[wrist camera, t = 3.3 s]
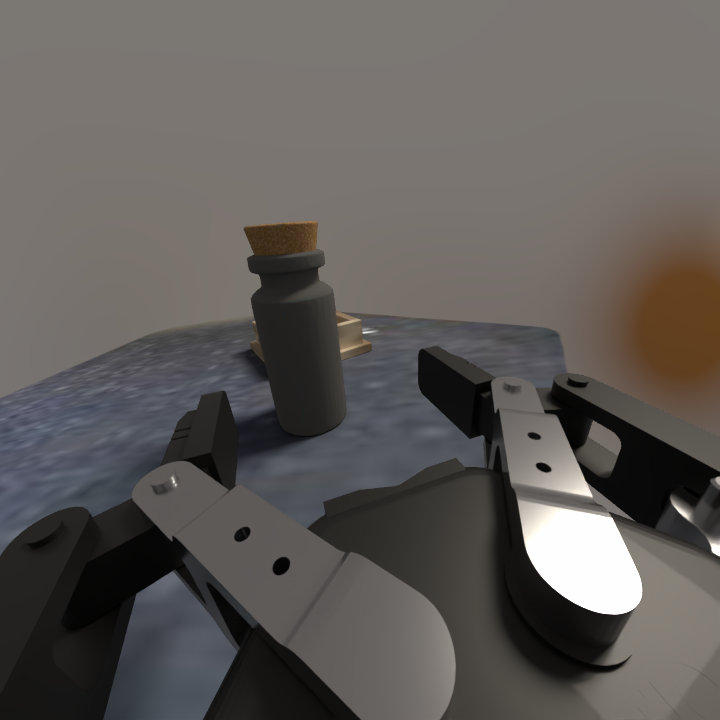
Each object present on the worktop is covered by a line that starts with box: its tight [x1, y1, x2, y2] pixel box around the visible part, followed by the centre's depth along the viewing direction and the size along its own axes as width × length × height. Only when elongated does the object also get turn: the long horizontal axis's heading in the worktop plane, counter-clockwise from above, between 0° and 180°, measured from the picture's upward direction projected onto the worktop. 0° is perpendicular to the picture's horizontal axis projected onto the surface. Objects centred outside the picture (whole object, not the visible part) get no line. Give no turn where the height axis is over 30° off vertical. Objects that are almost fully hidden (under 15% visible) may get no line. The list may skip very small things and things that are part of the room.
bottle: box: [244, 221, 346, 436], centre depth 22 cm, size 6×6×15 cm
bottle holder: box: [250, 311, 372, 363], centre depth 38 cm, size 12×12×4 cm
